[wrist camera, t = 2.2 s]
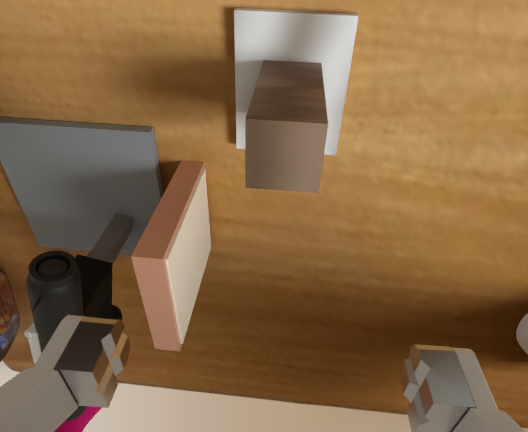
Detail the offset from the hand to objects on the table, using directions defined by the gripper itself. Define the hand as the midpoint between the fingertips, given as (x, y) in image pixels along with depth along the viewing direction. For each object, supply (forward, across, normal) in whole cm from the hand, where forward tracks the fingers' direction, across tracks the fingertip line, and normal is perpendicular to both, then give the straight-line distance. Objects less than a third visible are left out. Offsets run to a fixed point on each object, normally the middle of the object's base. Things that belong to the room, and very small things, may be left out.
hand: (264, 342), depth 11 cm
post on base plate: (+22, 0, 0) cm, 22 cm away
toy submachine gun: (+23, +16, +17) cm, 32 cm away
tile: (+22, +8, +12) cm, 26 cm away
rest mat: (+22, +18, +11) cm, 30 cm away
